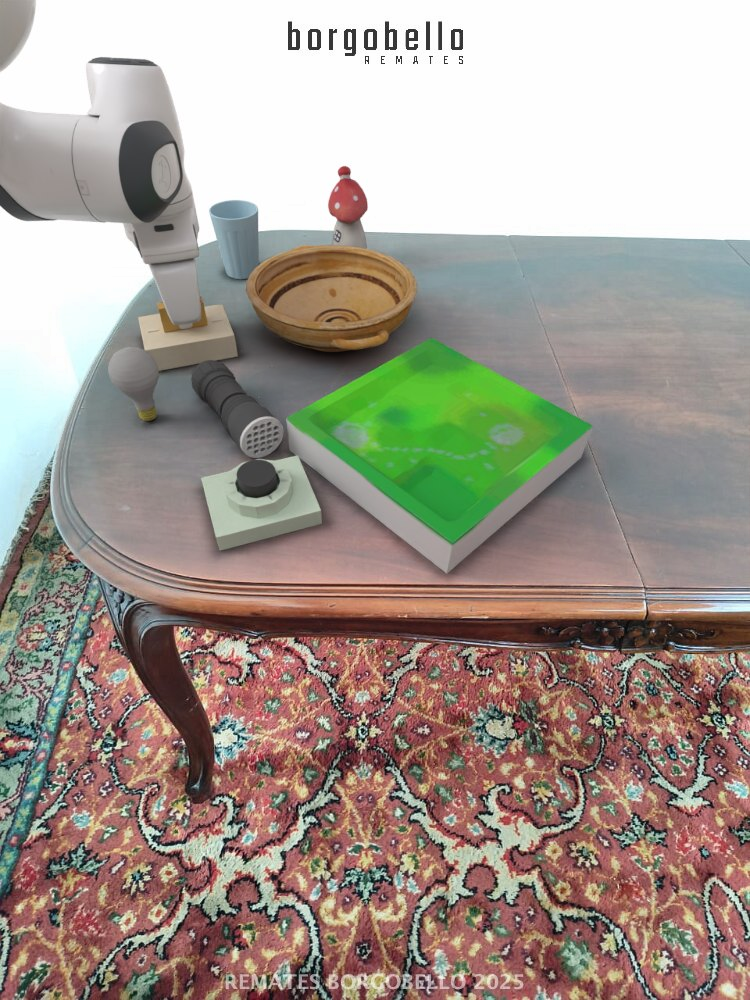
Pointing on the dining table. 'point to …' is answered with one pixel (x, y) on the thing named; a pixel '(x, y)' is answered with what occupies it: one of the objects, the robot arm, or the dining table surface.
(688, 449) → the dining table surface
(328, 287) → the ceramic bowl
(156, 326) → the plate
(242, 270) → the cup
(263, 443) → the flashlight
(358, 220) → the decorative ornament
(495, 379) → the tray
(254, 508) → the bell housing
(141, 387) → the light bulb
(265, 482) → the bell button
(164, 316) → the lock knob
